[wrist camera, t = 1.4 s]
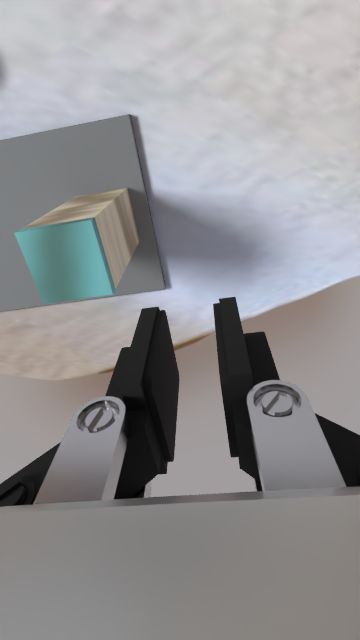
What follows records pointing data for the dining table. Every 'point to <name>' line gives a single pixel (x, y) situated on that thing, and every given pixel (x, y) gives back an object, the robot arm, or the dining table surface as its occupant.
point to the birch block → (81, 246)
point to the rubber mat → (64, 184)
